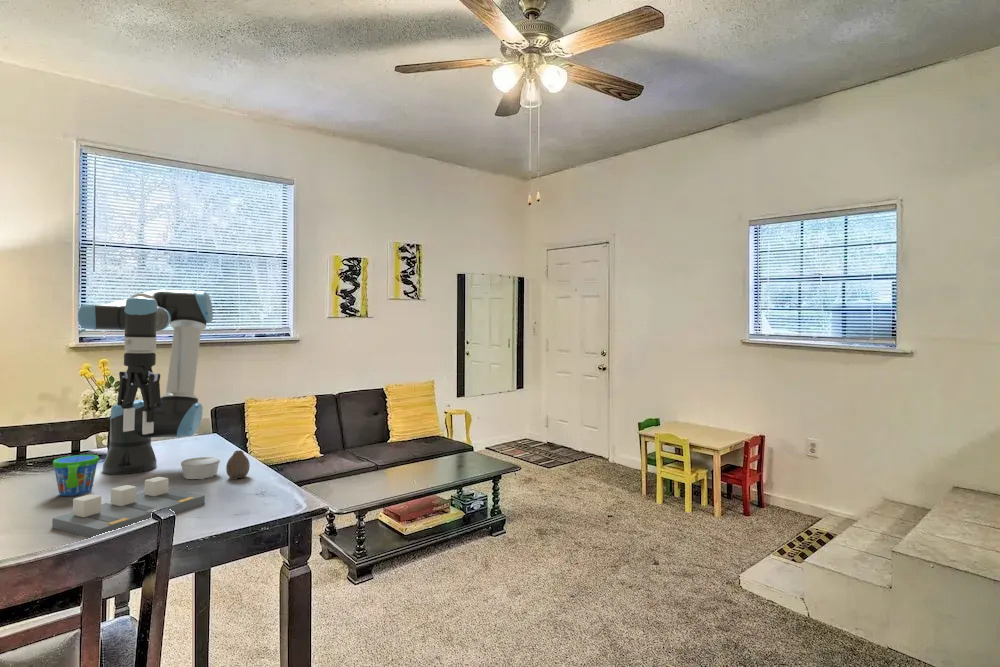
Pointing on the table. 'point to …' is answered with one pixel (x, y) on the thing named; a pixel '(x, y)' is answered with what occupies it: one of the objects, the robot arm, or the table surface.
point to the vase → (238, 465)
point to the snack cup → (75, 474)
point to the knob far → (156, 486)
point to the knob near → (86, 505)
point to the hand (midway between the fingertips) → (138, 432)
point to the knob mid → (123, 495)
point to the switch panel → (126, 513)
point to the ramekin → (200, 467)
